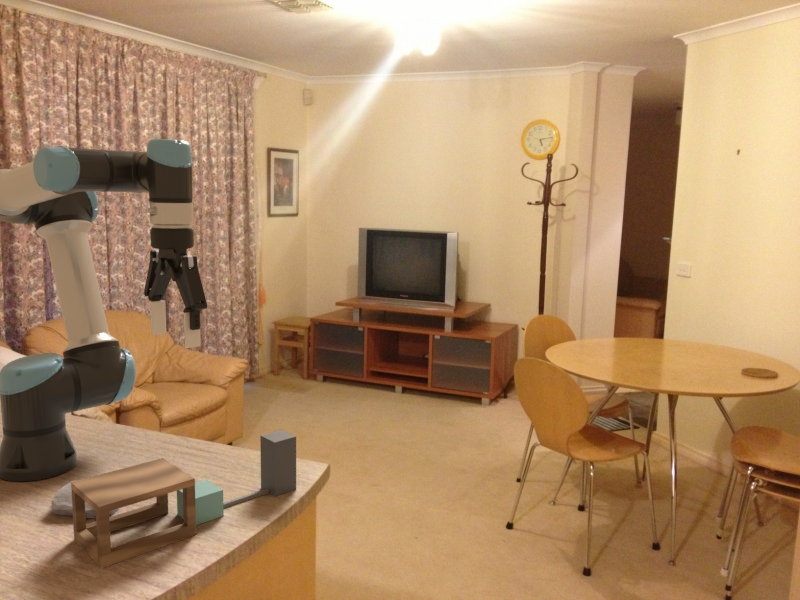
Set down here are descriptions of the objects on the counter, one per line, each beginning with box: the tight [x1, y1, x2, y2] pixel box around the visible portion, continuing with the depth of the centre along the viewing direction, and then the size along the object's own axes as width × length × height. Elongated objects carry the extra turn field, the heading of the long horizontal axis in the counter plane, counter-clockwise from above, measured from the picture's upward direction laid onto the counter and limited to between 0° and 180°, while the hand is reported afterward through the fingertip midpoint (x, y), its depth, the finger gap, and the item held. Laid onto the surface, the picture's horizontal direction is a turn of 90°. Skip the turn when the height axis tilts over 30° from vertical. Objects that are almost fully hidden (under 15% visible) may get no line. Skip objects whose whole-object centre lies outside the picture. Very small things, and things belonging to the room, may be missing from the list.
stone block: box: [50, 479, 121, 519], centre depth 128 cm, size 12×5×10 cm
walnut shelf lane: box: [70, 457, 197, 569], centre depth 117 cm, size 12×16×10 cm
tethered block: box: [176, 429, 297, 526], centre depth 131 cm, size 6×22×11 cm, turn 134°
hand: (175, 340), depth 129 cm, fingers open, 13 cm apart
